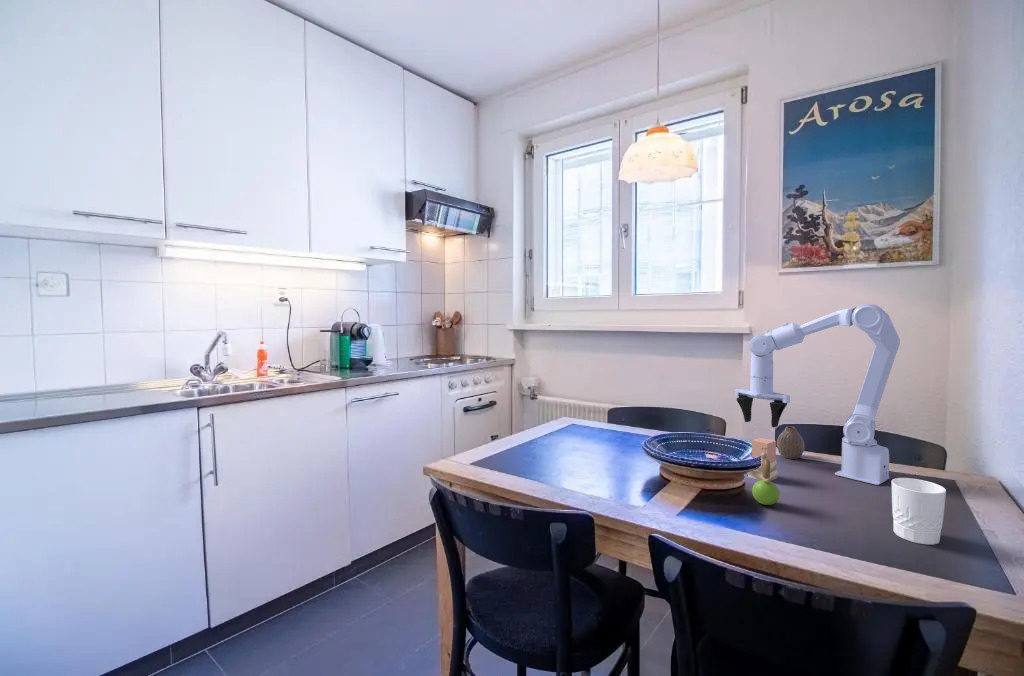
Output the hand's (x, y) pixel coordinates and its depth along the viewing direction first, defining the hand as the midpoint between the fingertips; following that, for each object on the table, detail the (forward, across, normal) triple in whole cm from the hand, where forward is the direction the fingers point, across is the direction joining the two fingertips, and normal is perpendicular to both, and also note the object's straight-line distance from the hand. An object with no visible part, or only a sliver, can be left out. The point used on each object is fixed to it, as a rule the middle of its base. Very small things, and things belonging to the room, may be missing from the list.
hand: (761, 424), depth 136 cm
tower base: (+11, +7, -13) cm, 19 cm away
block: (+6, +8, -13) cm, 16 cm away
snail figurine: (+11, +16, -29) cm, 34 cm away
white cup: (+11, +41, -22) cm, 47 cm away
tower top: (+8, +7, -13) cm, 17 cm away
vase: (+11, +4, +9) cm, 15 cm away
